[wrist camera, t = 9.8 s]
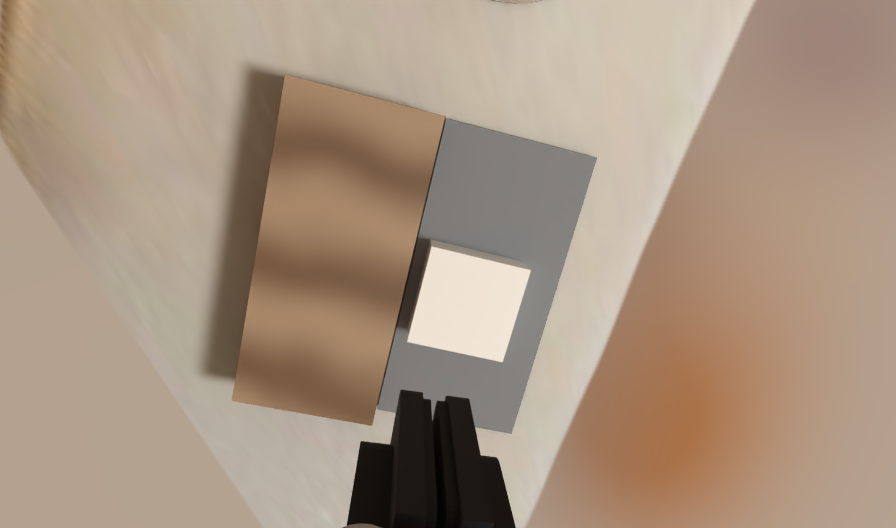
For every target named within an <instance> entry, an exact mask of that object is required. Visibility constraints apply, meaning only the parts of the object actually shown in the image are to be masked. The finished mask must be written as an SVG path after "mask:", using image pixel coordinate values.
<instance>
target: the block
mask: <svg viewBox="0 0 896 528" xmlns="http://www.w3.org/2000/svg"><path fill="white" fill-rule="evenodd" d="M530 272H531V270H530V269H529V267H528V266H527V265H526V264H525V263H524V262H522V261H518V260H514V259H510V258H505V257H501V256H497V255H493V254H489V253H485V252H481V251H476V250H472V249H468V248H464V247H460V246H456V245H452V244H447V243H443V242H439V241H435V240H431V239H430V243H429V247H428V250H427V254H426V258H425V262H424V266H423V270H422V274H421V278H420V282H419V285H418V289H417V293H416V297H415V301H414V305H413V309H412V313H411V317H410V320H409V324H408V328H407V342H409V343H414V344H419V345H424V346H428V347H433V348H438V349H442V350H447V351H452V352H456V353H461V354H466V355H471V356H475V357H480V358H485V359H489V360H494V361H499V362H503V360H504V356H505V353H506V350H507V347H508V343H509V340H510V337H511V334H512V330H513V327H514V324H515V321H516V317H517V314H518V311H519V308H520V304H521V301H522V298H523V295H524V292H525V288H526V285H527V282H528V279H529V275H530Z"/></svg>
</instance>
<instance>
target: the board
mask: <svg viewBox="0 0 896 528" xmlns="http://www.w3.org/2000/svg"><path fill="white" fill-rule="evenodd" d="M444 120H445V116H442V115H438V114H434V113H430V112H427V111H423V110H419V109H415V108H411V107H408V106H404V105H400V104H396V103H392V102H389V101H385V100H381V99H377V98H373V97H369V96H366V95H362V94H358V93H354V92H350V91H347V90H343V89H339V88H335V87H331V86H327V85H324V84H320V83H316V82H312V81H308V80H305V79H301V78H297V77H293V76H289V75H286V74H285V78H284V84H283V90H282V96H281V102H280V108H279V115H278V121H277V127H276V133H275V139H274V145H273V151H272V157H271V164H270V170H269V176H268V182H267V188H266V194H265V200H264V206H263V213H262V219H261V225H260V231H259V237H258V243H257V249H256V255H255V262H254V268H253V274H252V280H251V286H250V292H249V298H248V305H247V311H246V317H245V323H244V329H243V335H242V341H241V347H240V354H239V360H238V366H237V372H236V378H235V384H234V390H233V396H232V401H236V402H241V403H247V404H253V405H258V406H264V407H270V408H275V409H281V410H286V411H292V412H298V413H303V414H309V415H315V416H320V417H326V418H331V419H337V420H343V421H348V422H354V423H360V424H365V425H371V426H372V423H373V419H374V415H375V411H376V406H377V402H378V398H379V394H380V389H381V385H382V381H383V377H384V373H385V368H386V364H387V360H388V356H389V352H390V347H391V343H392V339H393V335H394V330H395V326H396V322H397V318H398V314H399V309H400V305H401V301H402V297H403V293H404V288H405V284H406V280H407V276H408V271H409V267H410V263H411V259H412V255H413V250H414V246H415V242H416V238H417V234H418V229H419V225H420V221H421V217H422V212H423V208H424V204H425V200H426V196H427V191H428V187H429V183H430V179H431V175H432V170H433V166H434V162H435V158H436V153H437V149H438V145H439V141H440V137H441V132H442V128H443V124H444Z"/></svg>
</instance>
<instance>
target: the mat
mask: <svg viewBox="0 0 896 528" xmlns="http://www.w3.org/2000/svg"><path fill="white" fill-rule="evenodd" d="M596 159H597V158H596V157H592V156H588V155H584V154H580V153H577V152H573V151H569V150H565V149H561V148H557V147H554V146H550V145H546V144H542V143H538V142H535V141H531V140H527V139H523V138H519V137H515V136H512V135H508V134H504V133H500V132H496V131H492V130H489V129H485V128H481V127H477V126H473V125H470V124H466V123H462V122H458V121H454V120H450V119H447V118H446V120H445V124H444V128H443V132H442V137H441V141H440V145H439V149H438V153H437V158H436V162H435V166H434V170H433V174H432V179H431V183H430V187H429V191H428V195H427V200H426V204H425V208H424V212H423V216H422V221H421V225H420V229H419V233H418V238H417V242H416V246H415V250H414V254H413V259H412V263H411V267H410V271H409V275H408V280H407V284H406V288H405V292H404V296H403V301H402V305H401V309H400V313H399V317H398V322H397V326H396V330H395V334H394V338H393V343H392V347H391V351H390V355H389V360H388V364H387V368H386V372H385V376H384V381H383V385H382V389H381V393H380V397H379V402H378V406H377V409H379V410H384V411H390V412H395V413H396V410H397V405H398V399H399V394H400V390H409V391H417V392H423V399H430V400H431V409H432V419H433V416H434V411H435V406H436V402H437V400H438V401H445V398H446V396H454V397H462V398H468V399H469V400H470V405H471V410H472V415H473V420H474V425H475V427H477V428H483V429H488V430H494V431H499V432H505V433H510V434H511V433H512V430H513V427H514V424H515V420H516V417H517V414H518V411H519V408H520V404H521V401H522V398H523V395H524V391H525V388H526V385H527V382H528V379H529V375H530V372H531V369H532V366H533V362H534V359H535V356H536V353H537V350H538V346H539V343H540V340H541V337H542V333H543V330H544V327H545V324H546V321H547V317H548V314H549V311H550V308H551V304H552V301H553V298H554V295H555V292H556V288H557V285H558V282H559V279H560V275H561V272H562V269H563V266H564V263H565V259H566V256H567V253H568V250H569V246H570V243H571V240H572V237H573V234H574V230H575V227H576V224H577V221H578V217H579V214H580V211H581V208H582V205H583V201H584V198H585V195H586V192H587V188H588V185H589V182H590V179H591V176H592V172H593V169H594V166H595V163H596ZM430 239H431V240H435V241H439V242H443V243H447V244H452V245H456V246H460V247H464V248H468V249H472V250H476V251H481V252H485V253H489V254H493V255H497V256H501V257H505V258H510V259H514V260H518V261H522V262H524V263H525V264H526V265H527V266H528V267H529V269H530V270H531V272H530V275H529V279H528V282H527V285H526V288H525V292H524V295H523V298H522V301H521V304H520V308H519V311H518V314H517V317H516V321H515V324H514V327H513V330H512V334H511V337H510V340H509V343H508V347H507V350H506V353H505V356H504V360H503V362H499V361H494V360H489V359H485V358H480V357H475V356H471V355H466V354H461V353H456V352H452V351H447V350H442V349H438V348H433V347H428V346H424V345H419V344H414V343H409V342H407V328H408V324H409V320H410V317H411V313H412V309H413V305H414V301H415V297H416V293H417V289H418V285H419V282H420V278H421V274H422V270H423V266H424V262H425V258H426V254H427V250H428V247H429V243H430Z"/></svg>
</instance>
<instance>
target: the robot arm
mask: <svg viewBox="0 0 896 528" xmlns="http://www.w3.org/2000/svg"><path fill="white" fill-rule="evenodd" d="M494 1H501V2H508V3H528V2H538V1H542V0H494ZM343 528H516V527H515V523H514V519H513V515H512V511H511V507H510V503H509V499H508V495H507V491H506V487H505V483H504V479H503V475H502V471H501V467H500V463H499V461H498V459H497V458H496V457H489V456H481V455H480V450H479V445H478V440H477V435H476V430H475V425H474V420H473V415H472V410H471V405H470V400H469V399H468V398H462V397H454V396H446V398H445V401H438V400H437V402H436V406H435V411H434V416H433V421H432V409H431V400H430V399H423V392H417V391H409V390H400V394H399V399H398V405H397V410H396V416H395V421H394V427H393V432H392V438H391V444H390V445H389V444H381V443H372V442H364V441H361V443H360V449H359V455H358V461H357V467H356V473H355V479H354V485H353V491H352V497H351V503H350V509H349V515H348V522H347V526H345V527H343Z"/></svg>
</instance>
